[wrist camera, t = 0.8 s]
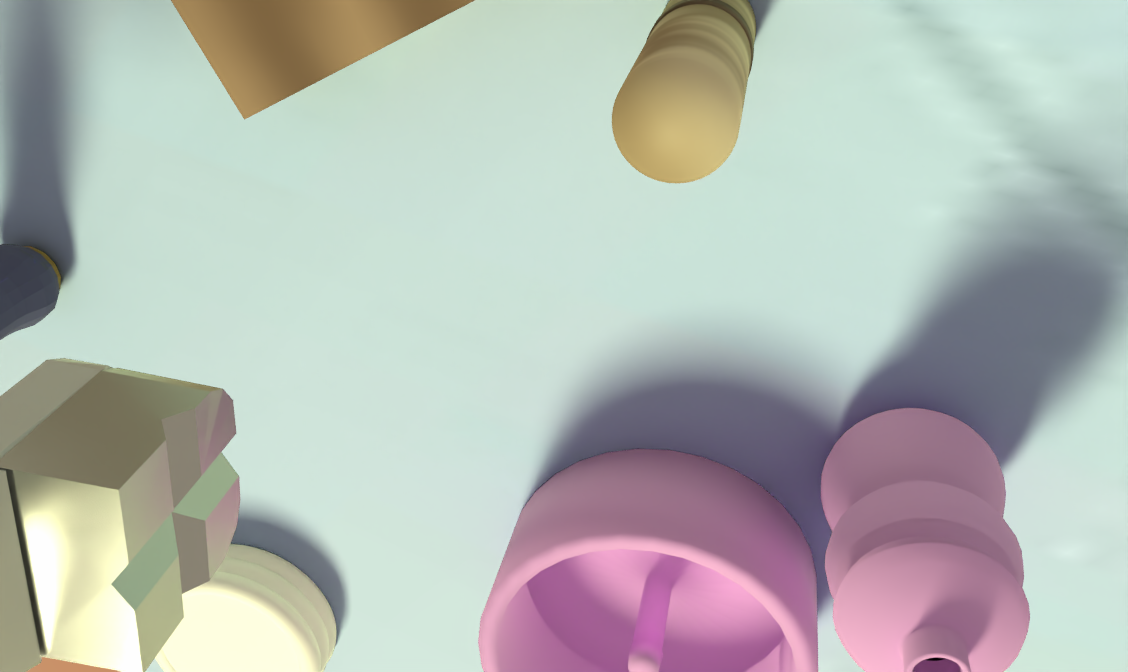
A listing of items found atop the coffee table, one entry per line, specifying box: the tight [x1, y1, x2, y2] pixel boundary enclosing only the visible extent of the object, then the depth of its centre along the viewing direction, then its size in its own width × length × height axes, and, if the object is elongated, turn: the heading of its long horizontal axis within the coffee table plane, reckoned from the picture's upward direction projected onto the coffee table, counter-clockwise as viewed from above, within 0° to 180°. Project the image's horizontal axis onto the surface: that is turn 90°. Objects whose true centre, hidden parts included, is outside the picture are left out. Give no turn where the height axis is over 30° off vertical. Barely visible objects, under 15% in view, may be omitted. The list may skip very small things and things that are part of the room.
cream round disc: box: [155, 544, 337, 672], centre depth 59 cm, size 10×10×4 cm
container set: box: [478, 408, 1030, 672], centre depth 46 cm, size 25×15×13 cm, turn 129°
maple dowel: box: [612, 0, 756, 183], centre depth 35 cm, size 4×4×12 cm
